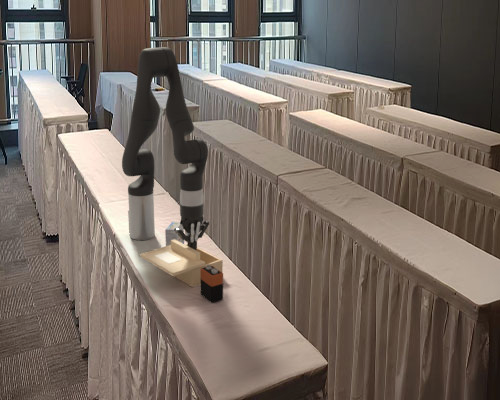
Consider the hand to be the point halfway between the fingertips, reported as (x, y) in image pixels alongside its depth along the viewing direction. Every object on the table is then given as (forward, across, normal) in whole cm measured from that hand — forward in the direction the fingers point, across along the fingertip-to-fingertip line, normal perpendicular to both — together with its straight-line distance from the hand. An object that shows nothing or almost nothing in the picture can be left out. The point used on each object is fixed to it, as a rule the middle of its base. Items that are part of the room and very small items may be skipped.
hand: (192, 251), depth 207 cm
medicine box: (+8, -7, -20) cm, 23 cm away
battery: (+8, +6, +18) cm, 21 cm away
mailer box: (+8, +1, 0) cm, 8 cm away
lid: (+1, +8, 0) cm, 8 cm away
